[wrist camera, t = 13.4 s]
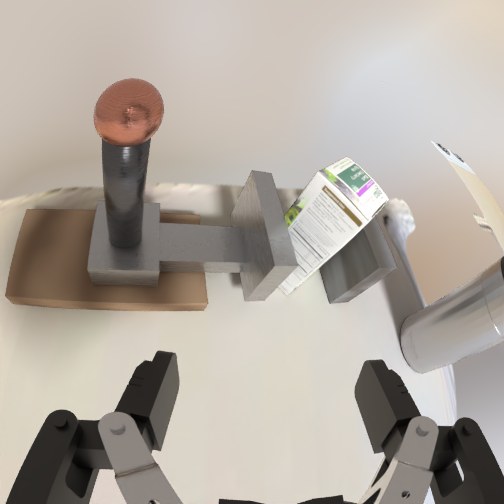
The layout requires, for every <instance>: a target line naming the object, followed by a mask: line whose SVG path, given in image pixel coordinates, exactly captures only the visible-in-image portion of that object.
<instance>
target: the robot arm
mask: <svg viewBox="0 0 504 504" xmlns="http://www.w3.org/2000/svg"><path fill="white" fill-rule="evenodd" d="M502 341H504V257H502V258H501V259H500V260H498V261H497V262H496V263H494V264H493V265H491V266H490V267H489V268H487V269H486V270H485V271H483V272H482V273H480V274H479V275H477V276H476V277H474V278H473V279H471V280H470V281H468V282H467V283H465V284H464V285H462V286H460V287H459V288H457V289H456V290H454V291H452V292H451V293H449V294H448V295H446V296H444V297H443V298H441V299H439V300H437V301H436V302H434V303H432V304H431V305H429V306H427V307H425V308H423V309H421V310H420V311H418V312H416V313H414V314H412V315H410V316H409V317H407V318H406V319H405V321H404V323H403V325H402V328H401V346H402V351H403V354H404V357H405V359H406V361H407V362H408V364H409V365H410V367H411V368H412V369H414V370H415V371H416V372H418V373H426V372H429V371H432V370H435V369H438V368H441V367H444V366H447V365H449V364H452V363H455V362H457V361H460V360H462V359H465V358H467V357H469V356H472V355H474V354H476V353H479V352H481V351H483V350H485V349H487V348H490V347H492V346H494V345H496V344H498V343H500V342H502ZM404 385H405V384H404V383H403V381H402V379H401V377H400V376H399V375H398V374H397V373H395V372H394V371H393V370H388V368H387V366H386V364H385V362H384V361H383V360H367V361H365V362H364V364H363V367H362V370H361V372H360V375H359V378H358V380H357V383H356V385H355V398H356V401H357V404H358V407H359V410H360V413H361V415H362V418H363V421H364V424H365V427H366V430H367V433H368V436H369V439H370V442H371V445H372V448H373V451H374V454H375V453H380V452H384V454H385V457H384V458H383V460H382V462H381V464H380V466H379V468H378V470H377V472H376V474H375V476H374V478H373V480H372V482H371V483H370V485H369V487H368V489H367V491H366V492H365V494H364V495H363V496H362V498H361V499H360V500H359V502H358V503H353V502H347V501H343V496H342V495H340V496H333V497H325V498H316V499H311V500H308V501H305V502H301V503H298V504H423V503H424V500H425V497H426V494H427V492H428V489H429V486H430V488H431V491H432V494H433V497H434V501H435V504H504V476H503V474H502V471H501V469H500V467H499V465H498V463H497V461H496V459H495V456H494V454H493V453H492V450H491V448H490V446H489V445H488V443H487V441H486V439H485V437H484V435H483V433H482V431H481V429H480V427H479V426H478V424H477V423H476V422H475V421H474V420H472V419H470V418H461V419H459V420H457V421H456V423H455V424H454V425H453V426H437V424H436V423H435V422H434V421H433V420H432V419H430V418H428V417H425V416H421V414H420V412H419V410H418V408H417V406H416V405H415V403H414V401H413V399H412V397H411V395H410V393H408V390H407V388H406V386H404ZM178 390H179V373H178V365H177V357H176V353H172V352H165V351H157V352H156V354H155V357H154V359H153V361H146V360H145V361H144V362H142V363H141V364H140V365H139V366H138V367H136V369H135V371H134V373H133V375H132V378H131V379H130V381H129V385H127V387H126V389H125V391H124V393H123V395H122V397H121V399H120V401H119V403H118V405H117V407H116V409H115V411H114V412H111V413H108V414H106V415H105V416H103V417H102V418H101V420H96V421H92V420H77V418H76V416H75V415H74V414H73V413H72V412H70V411H68V410H56V411H54V412H52V413H51V414H49V415H48V417H47V418H46V420H45V422H44V424H43V426H42V427H41V429H40V431H39V433H38V435H37V437H36V439H35V441H34V443H33V444H32V446H31V448H30V450H29V452H28V454H27V456H26V459H25V461H24V463H23V465H22V467H21V469H20V471H19V473H18V476H17V478H16V480H15V482H14V485H13V487H12V489H11V492H10V494H9V497H8V499H7V502H6V504H89V502H90V498H91V495H92V492H93V488H94V485H95V482H96V479H97V475H98V472H99V469H114V472H115V479H116V482H117V484H118V486H119V488H120V491H121V493H122V495H123V497H124V499H125V501H126V503H127V504H183V503H182V502H181V500H180V499H179V497H178V496H177V494H176V493H175V491H174V490H173V488H172V487H171V485H170V484H169V482H168V480H167V479H166V477H165V475H164V474H163V472H162V470H161V469H160V467H159V466H158V464H157V463H156V462H155V460H154V458H153V457H152V455H151V453H152V450H158V451H161V449H162V445H163V442H164V438H165V435H166V431H167V428H168V424H169V421H170V417H171V414H172V411H173V407H174V404H175V401H176V397H177V394H178ZM457 460H458V461H459V464H460V466H461V469H462V471H463V474H464V481H462V478H461V476H460V473H459V471H458V468H457V466H456V463H455V462H456V461H457ZM219 504H263V503H258V502H254V501H243V500H227V499H219Z"/></svg>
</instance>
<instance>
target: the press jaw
mask: <svg viewBox="0 0 504 504" xmlns="http://www.w3.org/2000/svg"><path fill="white" fill-rule="evenodd" d="M163 113H164V106H163V100H162V97H161V95H160V93H159V92H158V90H157V89H156V88H155V87H154V86H153V85H152V84H150V83H148V82H146V81H144V80H141V79H133V78H132V79H125V80H121V81H118V82H116V83H114V84H112V85H111V86H110V87H108V88H107V89H106V90H105V91H104V92H103V93H102V94H101V96H100V98H99V99H98V101H97V103H96V106H95V109H94V124H95V128H96V130H97V132H98V133H99V135H100V137H101V138H102V161H103V162H102V164H103V183H104V197H105V201H98V204H97V209H96V214H95V219H94V225H93V231H92V237H91V244H90V251H89V258H88V267H87V270H88V273H89V275H90V278H91V281H92V284H93V285H115V286H158V278H159V271H161V272H224V273H240V277H241V283H242V289H243V295H244V301H263V300H265V299H266V298H267V297H268V296H269V295H270V294H271V293H272V292H273V291H274V290H275V289H276V288H277V287H278V286H279V285H280V284H281V283H282V282H283V281H284V280H285V279H286V278H287V277H288V276H289V275H290V274H291V273H292V272H293V271H294V270H295V269H296V268H297V267H298V263H297V259H296V256H295V252H294V248H293V245H292V241H291V238H290V234H289V231H288V227H287V224H286V220H285V217H284V213H283V210H282V207H281V203H280V200H279V196H278V193H277V190H276V187H275V183H274V180H273V177H272V174H271V173H266V172H259V171H253V170H252V171H251V174H250V176H249V178H248V180H247V182H246V184H245V186H244V188H243V190H242V192H241V194H240V197H239V199H238V201H237V203H236V205H235V207H234V209H233V211H232V214H231V222H232V227H227V226H211V225H193V224H174V223H159V221H160V203H144V196H145V184H146V173H147V164H148V156H149V148H150V141H151V137H152V136H153V134H154V133H155V132H156V131H157V129H158V128H159V126H160V124H161V122H162V118H163Z"/></svg>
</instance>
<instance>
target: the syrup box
mask: <svg viewBox="0 0 504 504" xmlns="http://www.w3.org/2000/svg"><path fill="white" fill-rule="evenodd" d="M388 200H389V199H388V197H387V195H386V194H385V193H384V191H383V190H382V189H381V188H380V187H379V185H378V184H377V183H376V182H375V181H374V180H373V179H372V177H371V176H370V175H369V174H367V172H366V171H364V170H363V169H362V168H361V167H360V166H359V165H357V164H356V163H355V162H353V161H352V160H351V159H349V158H348V157H345V158H343V159H341V160H339V161H337V162H335V163H333V164H331V165H330V166H328V167H326V168H324V169H322V170H320V171H318V172H317V173H316V174H315V175H314V177H313V178H312V179H311V181H310V182H309V183H308V185H307V186H306V187H305V189H304V190H303V192H302V193H301V194H300V196H299V197H298V198H297V200H296V201H295V202H294V204H293V205H292V206H291V208H290V209H289V210H288V212H287V213H286V214H285V216H284V217H285V220H286V224H287V227H288V231H289V234H290V238H291V241H292V245H293V248H294V252H295V256H296V259H297V263H298V267H297V268H296V269H295V270H294V271H293V272H292V273H291V274H290V275H289V276H288V277H287V278H286V279H285V280H284V281H283V282H282V283H281V284H280V285H279V286H278V287H279V288H280V289H281V290H282V291H283V292H284V293H285V294H286V295H289V294H290V293H291V292H292V291H293V290H295V289H296V288H297V287H298V286H299V285H300V284H302V283H303V282H304V281H305V280H306V279H307V278H309V277H310V276H311V275H312V274H313V273H314V272H315V271H317V270H318V269H319V268H320V267H321V266H322V265H323V264H324V263H326V262H327V261H328V260H329V259H330V258H331V257H332V256H334V255H335V254H336V253H337V252H338V251H339V250H340V249H341V248H342V247H343V246H345V245H346V244H347V243H348V242H349V241H350V240H351V239H352V238H353V237H354V236H355V235H356V234H357V233H358V232H359V231H360V230H361V229H362V228H363V227H364V226H366V225H367V224H368V223H369V222H370V221H371V219H372V218H373V217H374V216H375V215H376V214H377V213H378V212H379V211H380V210H381V209H382V208H383V206H384V205H385V203H386V202H387V201H388Z"/></svg>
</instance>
